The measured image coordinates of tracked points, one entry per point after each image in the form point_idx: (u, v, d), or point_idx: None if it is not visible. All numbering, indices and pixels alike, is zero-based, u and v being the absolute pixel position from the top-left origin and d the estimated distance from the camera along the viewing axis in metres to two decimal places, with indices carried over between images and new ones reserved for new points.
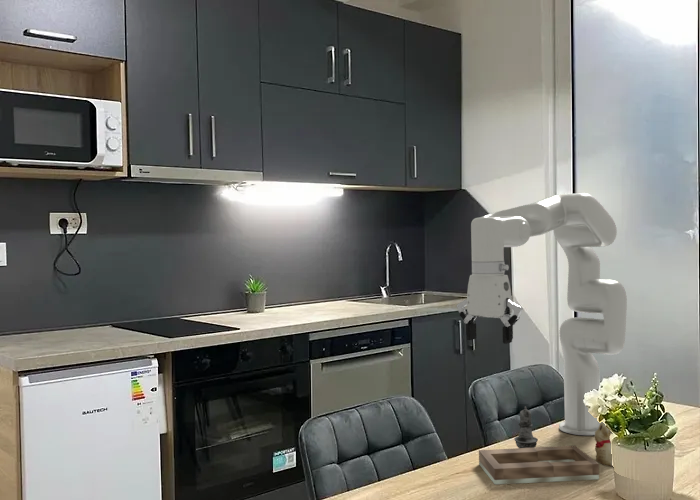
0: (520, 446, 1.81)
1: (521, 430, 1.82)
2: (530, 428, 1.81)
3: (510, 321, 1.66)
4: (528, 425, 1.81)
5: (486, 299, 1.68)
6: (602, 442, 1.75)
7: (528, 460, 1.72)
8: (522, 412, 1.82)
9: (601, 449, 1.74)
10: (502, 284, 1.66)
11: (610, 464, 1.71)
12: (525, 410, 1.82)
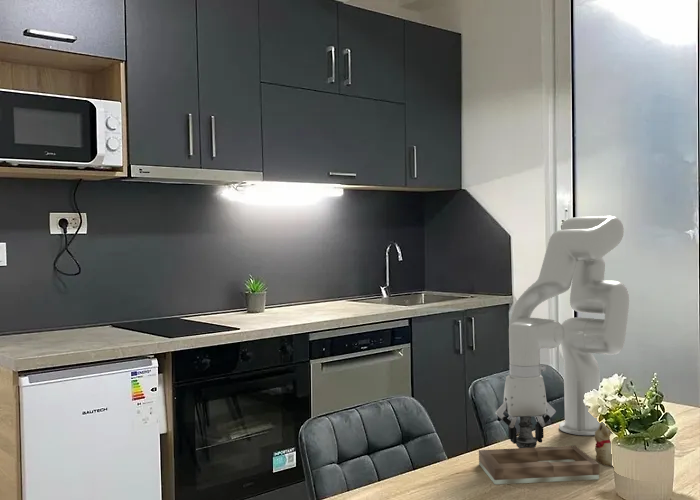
0: (520, 446, 1.81)
1: (521, 430, 1.82)
2: (530, 428, 1.81)
3: (545, 422, 1.82)
4: (528, 425, 1.81)
5: (531, 400, 1.80)
6: (602, 442, 1.75)
7: (528, 460, 1.72)
8: None
9: (601, 449, 1.74)
10: None
11: (610, 464, 1.71)
12: None
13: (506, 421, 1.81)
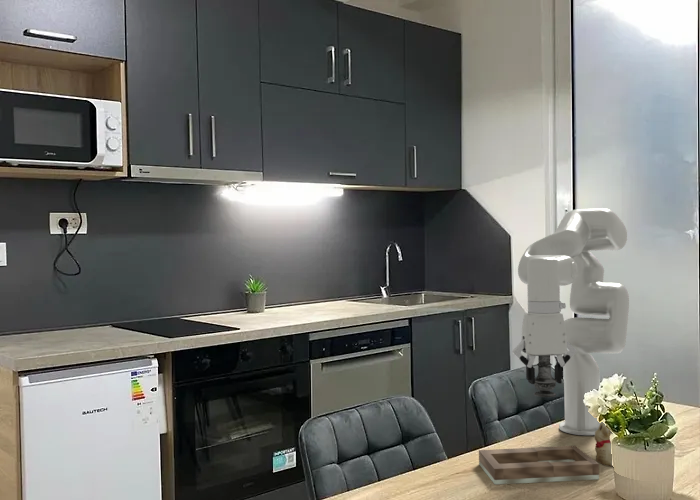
0: (538, 387, 1.72)
1: (539, 370, 1.73)
2: (549, 368, 1.73)
3: (565, 362, 1.73)
4: (547, 365, 1.72)
5: (551, 338, 1.71)
6: (602, 442, 1.75)
7: (528, 460, 1.72)
8: None
9: (601, 449, 1.74)
10: (564, 322, 1.72)
11: (610, 464, 1.71)
12: None
13: (524, 360, 1.73)
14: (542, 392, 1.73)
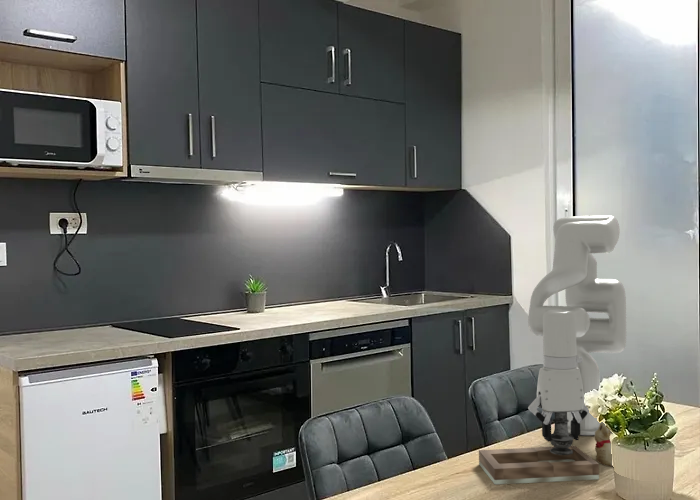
0: (555, 444, 1.67)
1: (556, 427, 1.68)
2: (566, 425, 1.67)
3: (582, 418, 1.68)
4: (564, 421, 1.67)
5: (568, 394, 1.66)
6: (602, 442, 1.75)
7: (528, 460, 1.72)
8: None
9: (601, 449, 1.74)
10: (581, 377, 1.67)
11: (610, 464, 1.71)
12: None
13: (540, 417, 1.67)
14: (559, 449, 1.68)
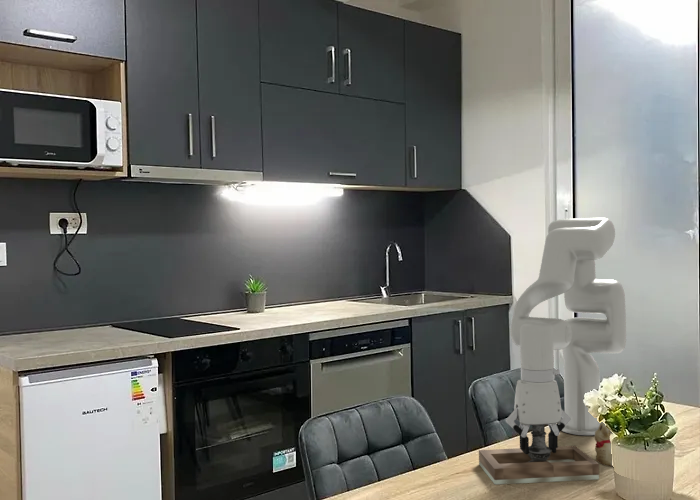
0: (533, 457, 1.67)
1: (534, 439, 1.68)
2: (543, 437, 1.67)
3: (559, 430, 1.68)
4: (541, 434, 1.67)
5: (545, 407, 1.66)
6: (602, 442, 1.75)
7: (528, 460, 1.72)
8: None
9: (601, 449, 1.74)
10: (558, 390, 1.67)
11: (610, 464, 1.71)
12: None
13: (517, 430, 1.67)
14: None
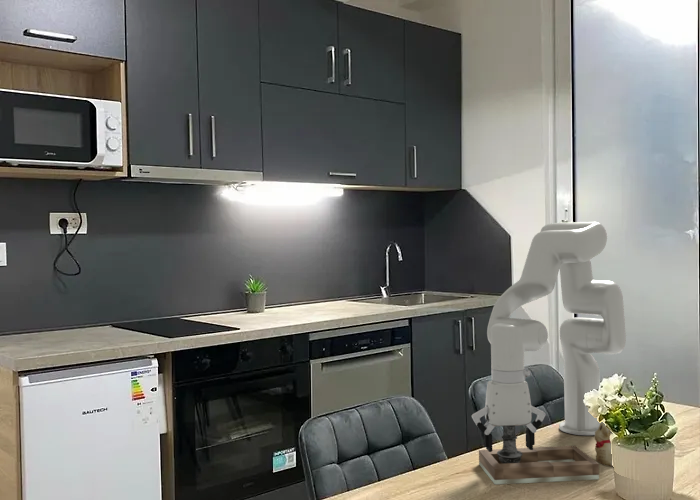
0: (503, 461, 1.66)
1: (504, 443, 1.67)
2: (514, 441, 1.67)
3: (535, 427, 1.67)
4: (512, 438, 1.66)
5: (515, 408, 1.65)
6: (602, 442, 1.75)
7: (528, 460, 1.72)
8: None
9: (601, 449, 1.74)
10: None
11: (610, 464, 1.71)
12: None
13: (481, 427, 1.66)
14: None
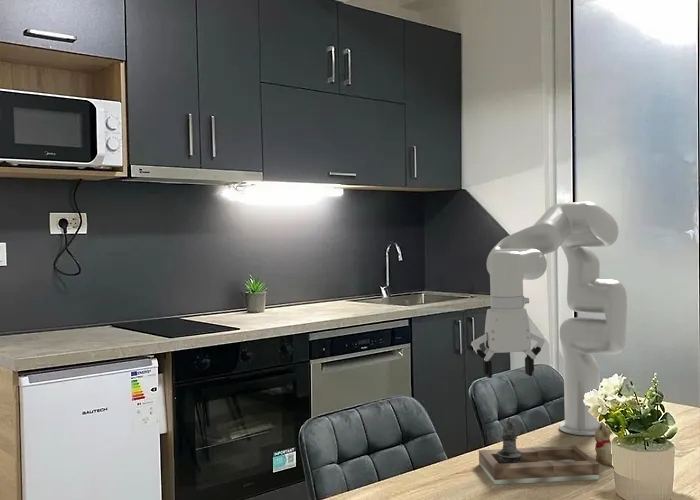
0: (503, 461, 1.66)
1: (504, 443, 1.67)
2: (514, 441, 1.67)
3: (535, 353, 1.69)
4: (512, 438, 1.66)
5: (514, 334, 1.66)
6: (602, 442, 1.75)
7: (528, 460, 1.72)
8: (505, 424, 1.67)
9: (601, 449, 1.74)
10: None
11: (610, 464, 1.71)
12: (509, 422, 1.67)
13: (480, 354, 1.68)
14: None
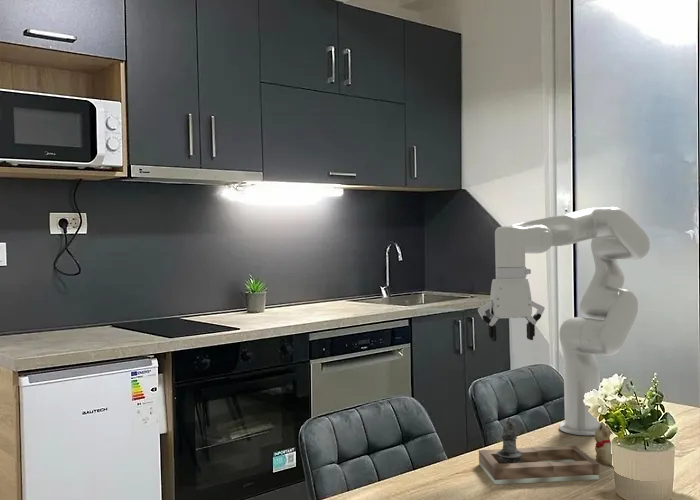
0: (503, 461, 1.66)
1: (504, 443, 1.67)
2: (514, 441, 1.67)
3: (535, 319, 1.85)
4: (512, 438, 1.66)
5: (517, 301, 1.83)
6: (602, 442, 1.75)
7: (528, 460, 1.72)
8: (505, 424, 1.67)
9: (601, 449, 1.74)
10: (529, 286, 1.84)
11: (610, 464, 1.71)
12: (509, 422, 1.67)
13: (486, 319, 1.84)
14: None
